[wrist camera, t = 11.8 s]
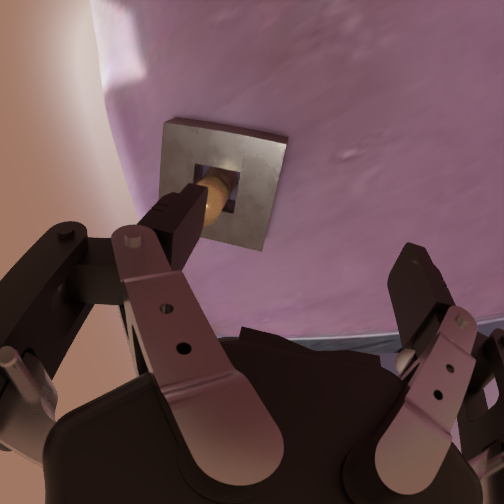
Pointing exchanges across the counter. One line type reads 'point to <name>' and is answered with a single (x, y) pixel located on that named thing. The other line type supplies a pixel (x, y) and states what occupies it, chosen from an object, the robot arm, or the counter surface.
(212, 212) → the pipe stub
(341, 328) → the counter surface
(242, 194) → the block
